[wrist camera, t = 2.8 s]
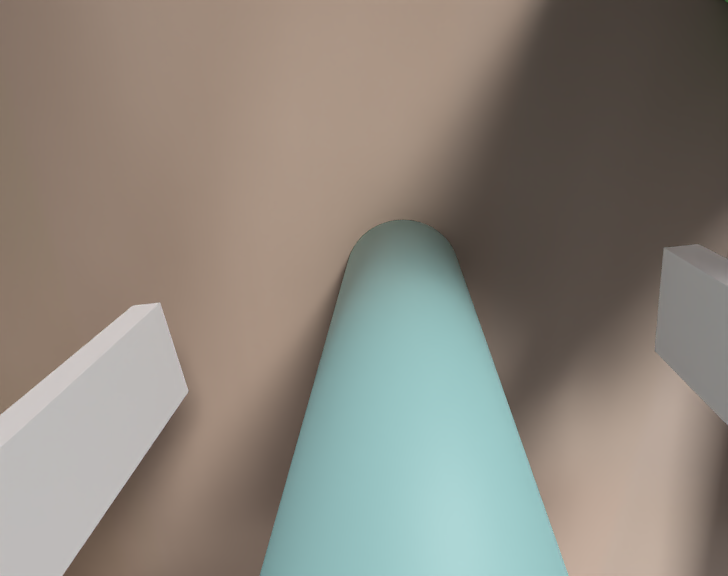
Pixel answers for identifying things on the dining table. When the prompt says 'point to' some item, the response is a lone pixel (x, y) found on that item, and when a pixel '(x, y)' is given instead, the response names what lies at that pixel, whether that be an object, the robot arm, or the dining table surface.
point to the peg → (409, 433)
